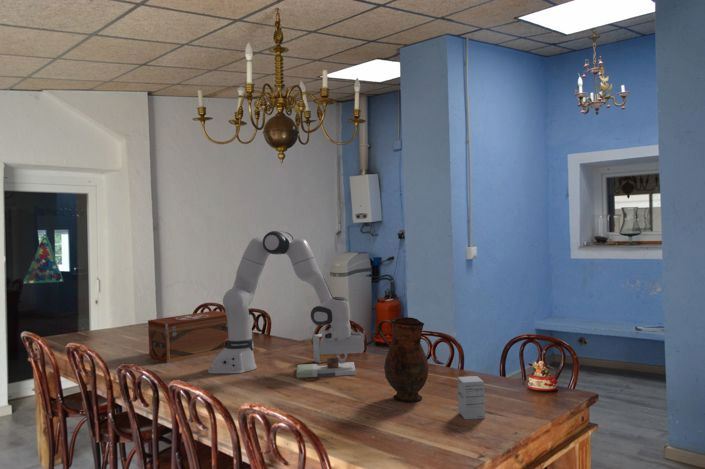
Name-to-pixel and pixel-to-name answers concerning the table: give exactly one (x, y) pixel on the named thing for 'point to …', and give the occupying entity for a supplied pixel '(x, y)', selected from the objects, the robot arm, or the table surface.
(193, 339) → the wooden box
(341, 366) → the trap lane
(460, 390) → the supplement box
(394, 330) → the pitcher
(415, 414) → the table surface
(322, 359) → the small box
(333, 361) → the walnut block
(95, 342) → the table surface
